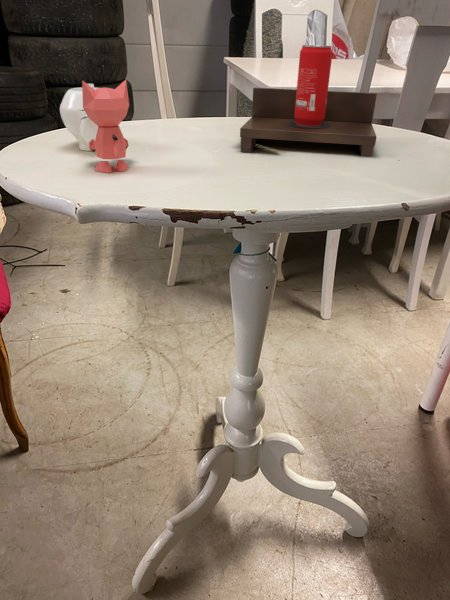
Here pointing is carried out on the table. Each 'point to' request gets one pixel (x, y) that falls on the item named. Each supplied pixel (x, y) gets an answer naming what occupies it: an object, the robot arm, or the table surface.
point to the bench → (334, 129)
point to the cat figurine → (107, 123)
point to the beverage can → (312, 84)
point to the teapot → (78, 117)
